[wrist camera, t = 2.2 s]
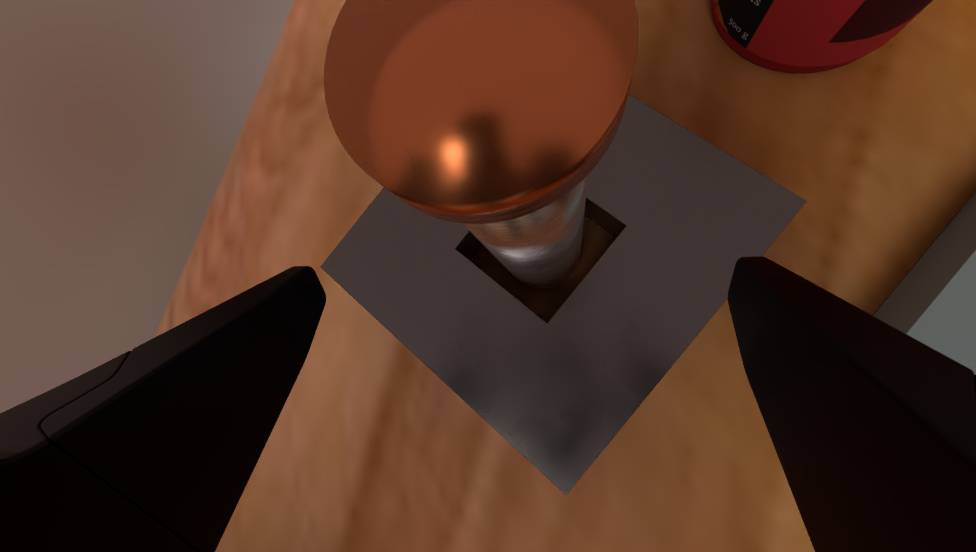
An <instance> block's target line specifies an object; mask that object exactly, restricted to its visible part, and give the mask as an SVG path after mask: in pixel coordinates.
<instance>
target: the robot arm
mask: <svg viewBox="0 0 976 552" xmlns="http://www.w3.org/2000/svg"><path fill="white" fill-rule="evenodd" d="M325 303H326V295H325V292H324V289H323V287H322V285H321V283H320V281H319V279H318V277H317V275H316V272H315V271H314V269H313V268H312V267H309V266H294V267H291V268H289V269H287V270H285V271H283V272H281V273H279V274H277V275H276V276H274V277H272V278H270V279H268V280H266V281H264V282H262V283H260V284H258V285H256V286H254V287H252V288H250V289H248V290H246V291H244V292H243V293H241V294H239V295H237V296H235V297H233V298H231V299H229V300H227V301H225V302H223V303H221V304H219V305H217V306H215V307H213V308H211V309H209V310H208V311H206V312H204V313H202V314H200V315H198V316H196V317H194V318H192V319H190V320H188V321H186V322H184V323H182V324H180V325H178V326H176V327H175V328H173V329H171V330H169V331H167V332H165V333H163V334H161V335H159V336H157V337H155V338H153V339H151V340H149V341H147V342H145V343H143V344H142V345H140V346H138V347H136V348H134V349H133V350H132V351H128V352H126V353H124V354H122V355H120V356H119V357H116V358H114V359H112V360H111V361H108V362H106V363H104V364H103V365H100V366H98V367H96V368H94V369H93V370H91V371H88V372H87V373H84V374H82V375H81V376H79V377H76V378H75V379H72V380H70V381H68V382H66V383H64V384H62V385H60V386H58V387H56V388H54V389H51V390H49V391H47V392H45V393H43V394H41V395H39V396H37V397H35V398H32V399H30V400H28V401H26V402H24V403H22V404H20V405H17V406H15V407H13V408H11V409H9V410H7V411H5V412H3V413H0V552H215V550H216V548H217V546H218V544H219V542H220V540H221V538H222V535H223V533H224V531H225V529H226V527H227V525H228V523H229V521H230V519H231V516H232V514H233V512H234V510H235V508H236V506H237V504H238V502H239V499H240V497H241V495H242V493H243V491H244V489H245V487H246V485H247V483H248V480H249V478H250V476H251V474H252V472H253V470H254V468H255V466H256V464H257V461H258V459H259V457H260V455H261V453H262V451H263V449H264V447H265V445H266V442H267V440H268V438H269V436H270V434H271V432H272V430H273V428H274V426H275V423H276V421H277V419H278V417H279V415H280V413H281V411H282V409H283V407H284V404H285V402H286V400H287V398H288V396H289V394H290V392H291V390H292V388H293V385H294V383H295V381H296V379H297V377H298V375H299V373H300V371H301V369H302V366H303V364H304V362H305V360H306V357H307V354H308V352H309V349H310V346H311V344H312V341H313V338H314V335H315V332H316V329H317V326H318V324H319V321H320V318H321V315H322V312H323V309H324V306H325ZM728 304H729V308H730V312H731V316H732V320H733V324H734V328H735V332H736V336H737V341H738V345H739V349H740V353H741V357H742V361H743V365H744V368H745V372H746V374H747V377H748V380H749V383H750V385H751V388H752V390H753V393H754V396H755V398H756V401H757V403H758V406H759V408H760V411H761V414H762V416H763V419H764V421H765V424H766V427H767V429H768V432H769V434H770V437H771V439H772V442H773V445H774V447H775V450H776V452H777V455H778V457H779V460H780V463H781V465H782V468H783V470H784V473H785V475H786V478H787V481H788V483H789V486H790V488H791V491H792V493H793V496H794V499H795V501H796V504H797V506H798V509H799V511H800V514H801V517H802V519H803V522H804V524H805V527H806V529H807V532H808V535H809V537H810V540H811V542H812V545H813V547H814V550H815V552H976V374H975V375H974V372H973V370H971V369H969V368H968V367H966V366H964V365H962V364H960V363H958V362H957V361H955V360H953V359H951V358H949V357H947V356H946V355H944V354H942V353H940V352H938V351H936V350H935V349H933V348H931V347H929V346H927V345H925V344H924V343H922V342H920V341H918V340H916V339H914V338H913V337H911V336H909V335H907V334H905V333H903V332H902V331H900V330H898V329H896V328H894V327H892V326H891V325H889V324H887V323H885V322H883V321H881V320H880V319H878V318H876V317H874V316H872V315H870V314H869V313H867V312H865V311H863V310H861V309H859V308H858V307H856V306H854V305H852V304H850V303H848V302H847V301H845V300H843V299H841V298H839V297H837V296H836V295H834V294H832V293H830V292H828V291H826V290H825V289H823V288H821V287H819V286H817V285H815V284H814V283H812V282H810V281H808V280H806V279H804V278H803V277H801V276H799V275H797V274H795V273H793V272H792V271H790V270H788V269H786V268H784V267H782V266H781V265H779V264H777V263H775V262H773V261H771V260H770V259H768V258H766V257H762V256H753V257H741V258H739V259H738V260H737V262H736V264H735V267H734V271H733V275H732V279H731V282H730V286H729V290H728Z"/></svg>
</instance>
